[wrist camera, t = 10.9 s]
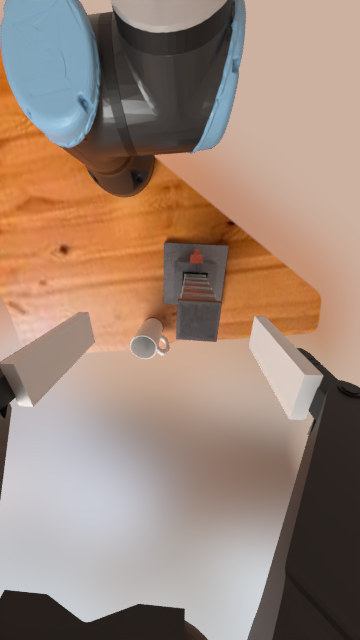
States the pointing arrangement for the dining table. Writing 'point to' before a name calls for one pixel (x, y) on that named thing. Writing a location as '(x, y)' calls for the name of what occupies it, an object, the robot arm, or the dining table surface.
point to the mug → (149, 340)
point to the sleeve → (193, 267)
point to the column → (197, 310)
